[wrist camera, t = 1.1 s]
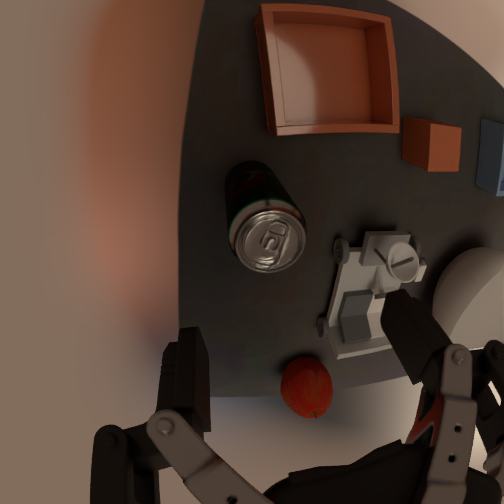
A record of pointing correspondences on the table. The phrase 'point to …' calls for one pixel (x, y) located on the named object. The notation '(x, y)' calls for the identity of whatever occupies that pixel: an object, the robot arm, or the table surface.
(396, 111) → the terracotta bin
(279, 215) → the soda can
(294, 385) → the apple
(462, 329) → the vase
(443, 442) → the robot arm
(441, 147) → the block
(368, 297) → the toy car
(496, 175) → the blue bin
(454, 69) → the table surface
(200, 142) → the table surface
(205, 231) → the table surface
